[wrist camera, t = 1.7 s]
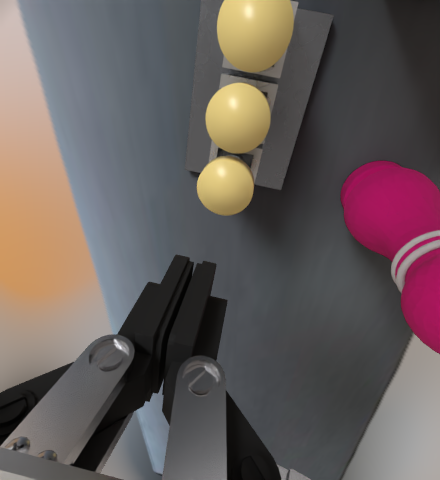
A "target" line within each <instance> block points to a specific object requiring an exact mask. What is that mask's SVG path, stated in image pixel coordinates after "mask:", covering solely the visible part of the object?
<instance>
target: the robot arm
mask: <svg viewBox="0 0 440 480" xmlns="http://www.w3.org/2000/svg"><path fill="white" fill-rule="evenodd" d="M189 260H190V259H189V257H185V256H180V255H175V257H174V259H173V261H172V263H171V265H170V266H169V268H168V270H167V272H166V274H165V276H164V278H163V280H162V282H161V284H157V283H153V282H148V283H147V285H146V286H145V288H144V290H143V291H142V293H141V295H140V297H139V298H138V300H137V302H136V303H135V305H134V307H133V308H132V310H131V312H130V314H129V315H128V317H127V319H126V320H125V322H124V324H123V325H122V327H121V329H120V331H119V332H118V334H117V335H107V336H103V337H100V338H98V339H97V340H95V341H94V342H92V343H91V344H90V345H89V346H88V347H87V348H86V349H85V351H84V352H83V353H82V354H81V355H80V356H79V357H78V358H77V360H76V361H75V362H72V363H70V364H67V365H65V366H63V367H60V368H58V369H55V370H53V371H50V372H48V373H46V374H43V375H41V376H38V377H36V378H34V379H31V380H29V381H26V382H24V383H21V384H19V385H17V386H14V387H12V388H9V389H7V390H5V391H3V392H1V393H0V480H122V479H118V478H115V477H111V476H107V475H103V474H100V473H101V471H102V469H103V467H104V466H105V464H106V462H107V460H108V458H109V457H110V455H111V453H112V451H113V449H114V448H115V446H116V444H117V442H118V440H119V439H120V437H121V435H122V434H123V432H124V430H125V428H126V426H127V425H128V423H129V421H130V419H131V417H132V415H133V412H134V411H136V410H137V409H139V408H141V407H143V406H144V403H145V401H148V402H150V399H151V396H152V394H153V393H157V394H158V392H159V390H160V387H161V385H162V382H163V379H164V383H163V393H162V395H164V398H163V408H162V412H163V414H164V416H165V418H166V420H167V422H168V424H169V426H170V428H169V435H168V442H167V449H166V456H165V463H164V470H163V476H162V480H311V479H309V478H307V477H305V476H304V475H302V474H300V473H298V472H296V471H295V470H293V469H291V468H290V470H289V471H288V470H286V469H285V468H283V467H281V466H279V465H277V464H276V462H275V460H274V458H273V457H272V455H271V454H270V453H269V451H268V450H267V448H266V447H265V445H264V444H263V443H262V441H261V440H260V438H259V437H258V435H257V434H256V432H255V431H254V430H253V428H252V427H251V425H250V424H249V422H248V421H247V420H246V418H245V417H244V415H243V414H242V412H241V411H240V410H239V408H238V407H237V405H236V404H235V402H234V401H233V399H232V398H231V397H230V395H229V394H228V392H227V391H226V378H225V373H224V371H223V369H222V367H221V365H220V364H219V363H218V362H217V361H216V359H217V354H218V349H219V343H220V338H221V333H222V327H223V322H224V317H225V311H226V306H227V300H225V299H221V298H217V297H212V296H210V295H211V290H212V285H213V280H214V274H215V269H216V264H215V263H211V262H207V261H203V263H202V264H199V263H197V265H196V268H195V271H194V273H193V276H192V272H193V265H194V262H191V261H189Z"/></svg>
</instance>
